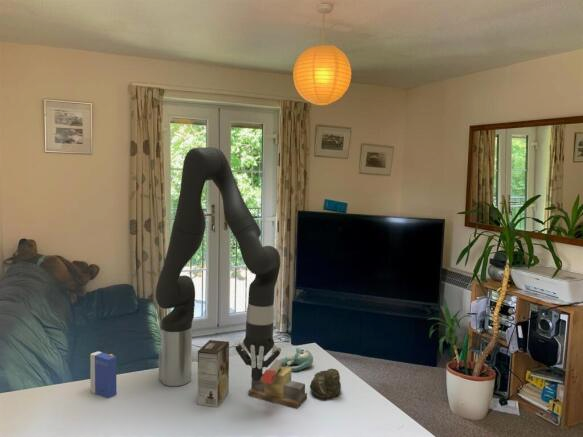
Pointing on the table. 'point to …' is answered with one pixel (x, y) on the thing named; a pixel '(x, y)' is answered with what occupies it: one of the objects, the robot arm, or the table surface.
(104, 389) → the walkman
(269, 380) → the valve lever
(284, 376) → the valve plinth
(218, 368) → the coffee box
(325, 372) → the seashell
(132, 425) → the table surface
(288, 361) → the stuffed animal
